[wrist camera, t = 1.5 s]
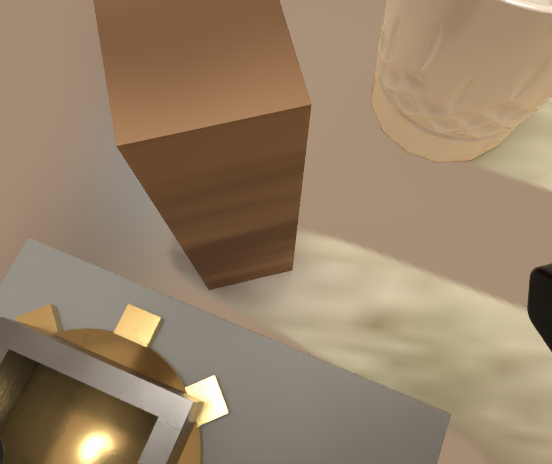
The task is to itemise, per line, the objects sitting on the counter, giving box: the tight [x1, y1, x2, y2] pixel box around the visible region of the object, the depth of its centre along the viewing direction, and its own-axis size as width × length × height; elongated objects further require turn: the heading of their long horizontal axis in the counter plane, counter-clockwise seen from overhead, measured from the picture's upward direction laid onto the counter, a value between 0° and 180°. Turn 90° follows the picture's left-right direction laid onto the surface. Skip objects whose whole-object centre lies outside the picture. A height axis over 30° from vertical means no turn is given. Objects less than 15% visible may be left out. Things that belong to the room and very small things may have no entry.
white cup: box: [371, 0, 552, 163], centre depth 19 cm, size 8×8×10 cm
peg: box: [94, 0, 311, 290], centre depth 15 cm, size 4×4×12 cm
